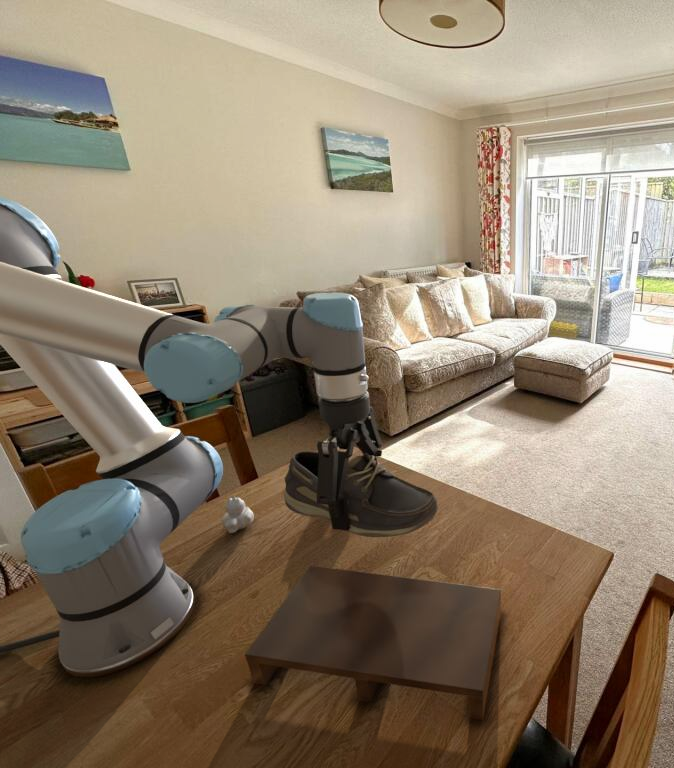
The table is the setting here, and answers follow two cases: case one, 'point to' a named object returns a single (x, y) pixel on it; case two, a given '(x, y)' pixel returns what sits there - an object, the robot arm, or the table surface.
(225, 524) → the white lobed figurine
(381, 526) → the boat shoe
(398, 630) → the small wooden pallet
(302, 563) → the table surface
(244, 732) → the table surface
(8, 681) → the table surface
